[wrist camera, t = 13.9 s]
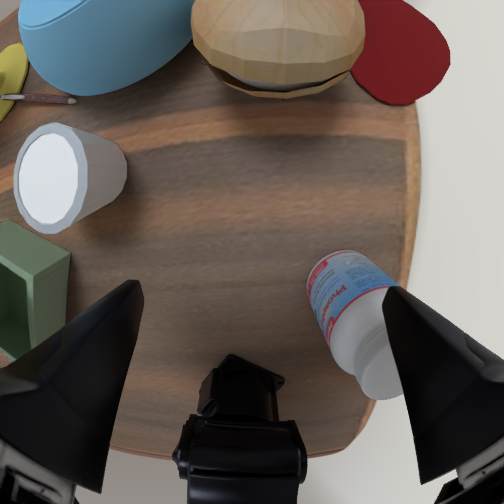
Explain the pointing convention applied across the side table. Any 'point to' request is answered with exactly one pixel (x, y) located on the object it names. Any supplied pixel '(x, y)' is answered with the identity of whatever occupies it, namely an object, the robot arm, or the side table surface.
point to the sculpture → (278, 43)
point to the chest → (30, 289)
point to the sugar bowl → (102, 40)
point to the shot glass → (66, 176)
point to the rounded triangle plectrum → (399, 53)
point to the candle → (12, 74)
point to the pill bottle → (355, 319)
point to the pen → (38, 98)
